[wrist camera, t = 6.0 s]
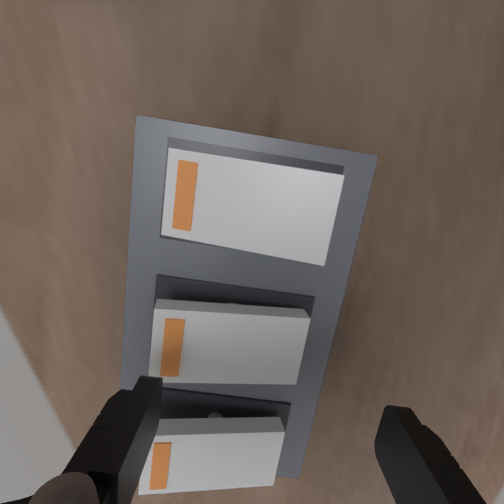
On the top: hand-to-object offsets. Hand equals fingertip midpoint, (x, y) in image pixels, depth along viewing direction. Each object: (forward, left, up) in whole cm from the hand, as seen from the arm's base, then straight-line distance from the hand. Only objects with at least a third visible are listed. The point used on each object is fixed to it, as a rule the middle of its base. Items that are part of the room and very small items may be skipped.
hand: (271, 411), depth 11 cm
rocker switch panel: (+2, 0, -9) cm, 9 cm away
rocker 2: (+2, 0, -4) cm, 4 cm away
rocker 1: (+2, -7, -4) cm, 8 cm away
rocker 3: (+2, +6, -4) cm, 8 cm away
